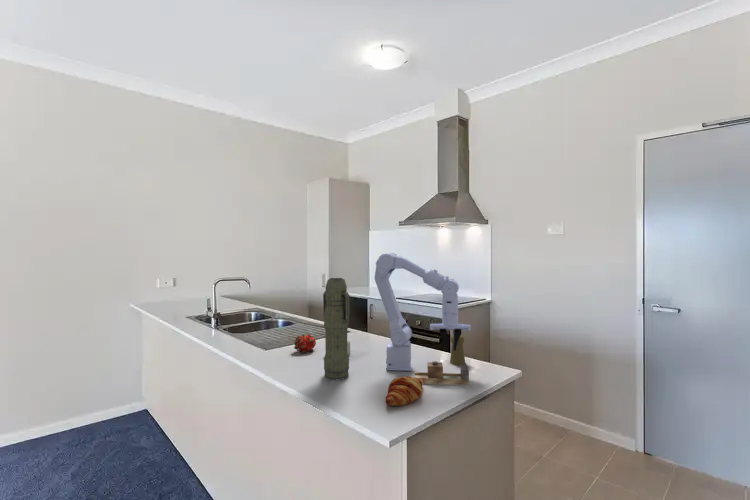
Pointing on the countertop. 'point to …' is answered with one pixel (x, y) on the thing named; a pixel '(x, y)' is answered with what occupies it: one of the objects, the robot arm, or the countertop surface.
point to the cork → (457, 352)
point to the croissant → (404, 390)
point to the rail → (447, 377)
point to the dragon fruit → (304, 343)
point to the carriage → (435, 369)
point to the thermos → (336, 328)
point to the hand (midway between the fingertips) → (450, 349)
